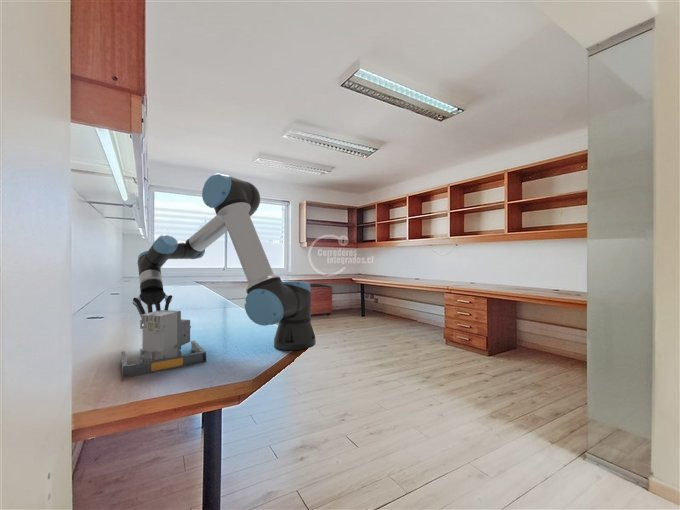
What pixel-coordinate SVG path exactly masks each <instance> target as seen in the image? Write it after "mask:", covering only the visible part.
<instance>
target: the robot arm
mask: <svg viewBox="0 0 680 510" xmlns="http://www.w3.org/2000/svg"><path fill="white" fill-rule="evenodd" d="M201 192H202V193H201V196H202V201H203V203H204V205H206V206H207V207H209V208H211V209H213V210H214V212H215V216H214V217H212V218H211V220H209V221H208V222H207V223H206V224H205V225H203V226H202V227H201V228H199V230H197V231H195V233H194V234H193V235H191V236H190V237H189V238H188V239H187V240H184V241H183V240H177V239H176V237H174V236H171V235H169V234H160V235H159V236H158V237H157V239H156V240H154V242H153V243H152V245H151V246H150V248H149V249H148V250H144V251H143V252H141V253H140V254H139V255H138V256H137V267H138V277H139V278H138V279H139V291H140V294H139V296H138V297H133V298H132V305H134V306H135V307H136V309H137V311H138V313H139V316H140V319H141V318H142V316H141V315H143V314H146V311H145V309H144V306H143V304H142V302H143V303H144V304H145V305H146V306H147V307H146V308H147V313H151V312H154V311H153V305H154V306H155V311H159V310H162V309H161V308H162V307H161V303H162V302H163V300H164V301H165V305H164V309H163V310H167V311H169V307H170V304H171V302H172V300H173V295H171V294H169V295H167V294H166V292H165V291H164V285H163V277H162V270H161V269H162V267H163V265H165V263H166V262H167V261H168V260H196V259H197V260H198V259H201V258H202V257H204V254H205V253H206V249H207V248H208V247H209V246H211V245H212V244H213V243H214V242H216V241H217V240H219V238H221V237H222V236H223V235H224V234H226V233H227V232H228V235H229V237H230V239H231V242H232V245H233V247H234V250H235V252H236V255H237V257H238V260H239V262H240V263H239V264H240V265H241V268H242V271H243V273H244V275H245V278H246V280H247V282H248V285H247V287H246V289H245V291H246V294H247V295H246V296H245V300H244V301H245V302H244V310H245V313H246V315H247V316H248V318H249V319H250V320H251V322H253V323H254V324H257V325H259V326H263V327H264V326H265V327H266V326H270V325H276V324H277V328H276V332H275V335H274V338H273V346H274V348H276V349H278V350H282V351H300V350H305V349H309V348H313V347H314V346H315V345H317V344H316V341H317V340H316V334H315V331H314V329H313V325H312V323H311V322H312V320H311V319H312V317H311V316H312V313H311V312H312V309H311V307H312V306H311V305H312V304H311V301H312V299H311V298H312V297H311V296H312V291H311V284H310V283H309V282H307V281H292V280H282V279H281V276H280V275H276V274H274V272H273V269H272V267H271V264H270V262H269V259H268V256H267V255H266V252H265V250H264V247H263V244H262V243H261V240H260V237H259V235H258V233H257V230H256V228H255V226H254V223H253V221H252V219H251V217H252V216H253V214H255V213H256V212H257V210H258V208H259V206H260V204H261V195H260V192H259V189H258V188H257V187H256V186H255V185H254V184H253V183H251V182H249V181H245V180H243V179H239V178H236V177H233V176H230V175H228V174H221V173H215V174H212V175H210V176H209V177H208V178H207V179H206V181H205V182H204V185H203V187H202V191H201Z"/></svg>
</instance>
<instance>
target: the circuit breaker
mask: <svg viewBox="0 0 680 510" xmlns="http://www.w3.org/2000/svg"><path fill="white" fill-rule="evenodd" d="M145 313H146V312H145ZM141 316H142V318H141ZM141 316H140V321H139V329H140V330H142V347H141V348H140V350H139V356H140V357H139V360H140V361H141V362H140V363H142V362H148V361H153V360H159V359H164V358H170V357H175V356H181V355H182V351H181V349H182V346H184V345H187V344H189V343H191V329H192V325H191V319H183V318H182V311H181V310H168V311H167V310H164V309H161V310H159V311H156V310H155V311H153V312H151V313H148V312H147V313H146V314H143V315H141Z"/></svg>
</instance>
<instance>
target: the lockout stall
mask: <svg viewBox="0 0 680 510" xmlns="http://www.w3.org/2000/svg"><path fill="white" fill-rule="evenodd" d="M190 346H191V347H190V349H191V351H192V352H193V353H187V354H183V355H182V354H181V356H175V357H170V358H164V359H159V360H153V361H148V362H142V363H141V362H137V363H131V364H128V361H127V354H126V351H124V350H123V351H121V352H120V363H121V373H123V374H122V379H125V378H130V377H137V376H141V375H142V376H143V375H147V374H151V373H157V372H161V371H166V370H171V369H177V368H181V367H186V366H191V365H197V364H202V363H205V362H207V351H206V350H205V349H204V348H203V347H202V346H201V345H200V344H199V343H198V342H197V341H196V340H190Z"/></svg>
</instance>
